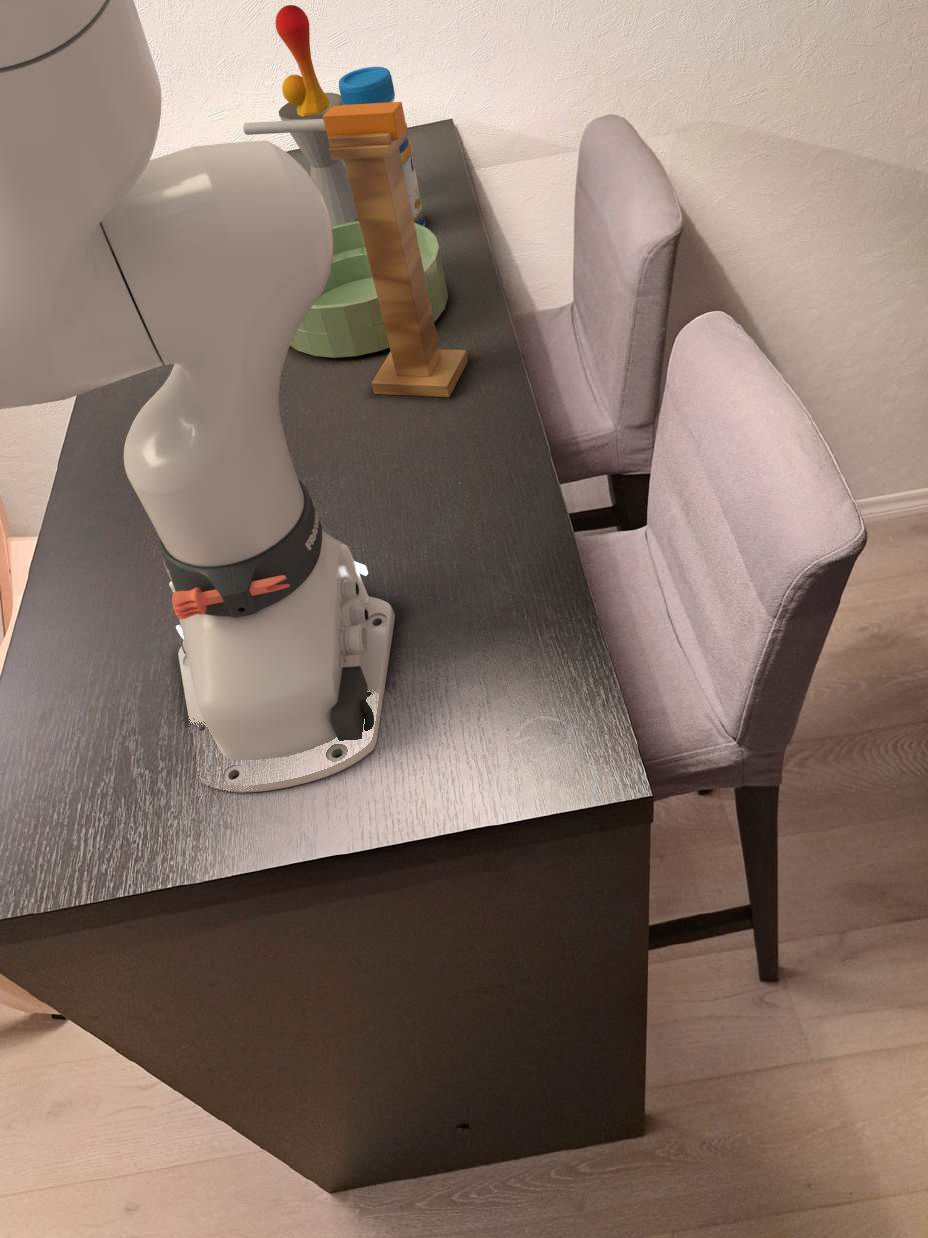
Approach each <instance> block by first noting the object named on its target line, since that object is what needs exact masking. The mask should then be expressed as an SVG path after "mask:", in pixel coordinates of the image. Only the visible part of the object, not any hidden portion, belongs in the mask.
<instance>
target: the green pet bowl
mask: <svg viewBox="0 0 928 1238" xmlns="http://www.w3.org/2000/svg"><path fill="white" fill-rule="evenodd" d="M414 224H415V229H416V234H417V239H418V244H419V249H420V254H421V259H422V264H423V269H424V274H425V279H426V284H427V289H428V294H429V299H430V304H431V309H432V314H433V319H434V323H435V322H436V321H437V320H438V319H439V317H440V316H441V315H442V313H443V312H444V311H445V309H446V306H447V302H448V298H449V294H448V288H447V283H446V277H445V271H444V266H443V260H442V255H441V250H440V245H439V241H438V237H437V236H436V235H435V234H434V233H433V231H431V230H430V229H429V228H427V227H425V226H421V225H419V224H417V223H414ZM332 231H333V260H332V266H331V271H330V275H329V278H328V280H327V283H326V286H325V288H324V290H323V292H322V294H321V296H320V297H319V298H318V299H317V301H316V302H315V303H314V304H313V306H312V307H311V308H310V310H309V311H308V312H307V314H306V315H305V317H304V318H303V320H302V322H301V324H300V325H299V327H298V329H297V331H296V333H295V335H294V337H293V339H292V341H291V344H290V346H289V347H292V348H293V349H294V350H296V351H298V352H300V353H304V354H308V355H310V356H314V357H320V358H321V357H322V358H333V359H336V358H337V359H338V358H349V357H359V356H364V355H368V354H372V353H377V352H381V351H384V350H386V349H390V346H389V342H388V338H387V334H386V330H385V326H384V322H383V318H382V314H381V309H380V305H379V301H378V297H377V293H376V289H375V285H374V281H373V277H372V273H371V268H370V264H369V260H368V256H367V252H366V248H365V244H364V240H363V236H362V232H361V227H360V223H359V220H356V221H354V222H351V223H346V224H341V225H337V226H334V227H332Z"/></svg>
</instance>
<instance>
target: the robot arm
mask: <svg viewBox="0 0 928 1238" xmlns="http://www.w3.org/2000/svg"><path fill="white" fill-rule="evenodd" d="M162 99H163V98H162V87H161V82H160V77H159V74H158V71H157V68H156V66H155V62H154V59H153V56H152V53H151V50H150V47H149V44H148V41H147V38H146V34H145V31H144V28H143V25H142V23H141V19H140V16H139V13H138V10H137V7H136V3H135V1H134V0H0V410H7V409H14V408H15V409H16V408H21V407H29V406H36V405H41V404H48V403H54V402H60V401H65V400H68V399H71V398H73V397H77V396H80V395H83V394H85V393H88V392H91V391H93V390H96V389H99V388H102V387H105V386H108V385H112V384H114V383H117V382H120V381H122V380H125V379H128V378H131V377H133V376H137V375H139V374H141V373H142V374H143V373H145V372H148V371H151V370H154V369H157V368H160V367H162V366H164V365H165V366H169V365H173V367H172V369H171V371H170V374H169V376H168V378H167V379H166V380H165V381H164V383H163V384H162V386H160V388H159V389H158V390H157V391H156V392H155V393H154V394H153V395H152V396H151V397H150V398H149V399H148V400H147V402H146V403H145V404H144V405H143V406H142V407H141V409H140V410H139V411H138V413H137V414H136V415H135V416H136V417H135V418H134V420H133V421H132V423H131V425H130V427H129V431H128V433H127V436H126V438H125V442H124V447H123V465H124V469H125V470H124V471H125V474H126V476H127V479H128V481H129V483H130V485H131V487H132V488H133V490H134V493H135V494H136V495H137V497H138V499H139V501H140V503H141V506H142V507H143V509H144V510H145V512H146V514H147V516H148V518H149V520H150V522H151V523H152V526H153V527H154V529H155V531H156V533H157V536H158V537H157V539H158V546H159V549H160V552H161V556H162V562H163V565H164V568H165V570H166V574H167V575H168V577H169V579H170V581H169V582H168V586H169V588H170V589H171V591H172V597H171V601H172V603H171V604H172V608H173V611H174V614H175V615H176V617H177V618H178V619H179V624H178V625H176V626H175V628H176V630H177V632H178V633H179V635H180V637H181V638H182V639H183V641H182V645H181V646H180V647H179V649H178V652H177V656H178V663H179V668H180V673H181V674H180V675H181V680H182V687H183V693H184V698H185V705H186V711H187V717H188V716H189V717H188V722H189V721H190V720H191V721H190V723H191V722H192V723H193V724H194V722H195V723H196V722H197V723H198V724H199V722H200V723H201V722H202V723H203V724H204V725H205V726H202V727H200V729H199V731H204V730H205V729H206V727H208V729H209V731H210V733H211V735H212V736H213V738H214V740H215V742H216V744H217V745H218V747H219V749H220V751H221V753H222V754H223V756H225V757H226V758H228V759H230V760H257V759H258V760H260V759H263V760H264V759H269V758H270V759H272V758H279V757H280V758H282V757H285V756H286V757H289V756H290V755H295V754H297V753H302V752H304V751H307V750H311V749H314V748H315V747H317V746H320V745H323V744H325V743H328V742H330V741H332V740H333V739H335V738H336V737H337V738H338V740H339V741H344V740H358V739H362V732H363V724H364V719H365V724H364V730H365V731H368V730H370V729H372V727H373V725H374V715H373V712H372V709H371V708H370V706H369V705H368V703H367V702H366V699H367V697H369V696H370V695H371V694H372V693H371V692H373V693H374V691H376V692H378V693H379V691H377V690H380V695H379V701H378V708H377V714H376V721H375V727H374V733H373V737H372V740H371V742H370V743H369V744H368V745H367V746H366V747H365V748H363V749H362V750H361V751H359V752H358V753H356V754H355V755H353V756H352V757H350V758H348V759H346V760H345V761H343V762H341V763H338V764H336V765H334V766H332V767H329V768H327V769H324V770H321V771H318V772H315V773H312V774H309V775H305V776H302V777H298V778H294V779H289V780H284V781H279V782H273V783H267V784H259V785H254V786H253V785H250V786H249V785H247V786H249V787H247V786H245V787H247V788H245V787H244V786H242V787H244V788H245V789H244V788H242V787H241V786H239V787H241V788H242V789H241V788H239V789H241V790H242V791H243V789H244V790H245V791H247V790H249V789H250V790H249V791H250V792H249V791H247V792H245V791H244V792H243V793H258V792H267V791H273V790H275V791H276V790H279V789H285V788H290V787H294V786H298V785H303V784H307V783H311V782H314V781H317V780H321V779H325V778H327V777H329V776H332V775H334V774H338V773H339V772H342V771H343V770H345V769H348V768H349V767H351V766H353V765H354V764H356V763H358V762H359V761H361V760H362V759H364V758H365V757H367V756H368V755H369V754H370V753H371V752H373V750H374V749H375V748H376V746H377V742H378V735H379V731H380V723H381V716H382V710H383V702H384V697H385V690H386V689H385V688H386V681H387V675H388V670H389V669H388V667H389V661H390V655H391V648H392V641H393V635H394V628H395V621H396V614H395V610H394V609H393V607H392V605H391V604H390V603H389V602H387V601H385V600H383V599H381V598H377V597H374V596H370V595H369V593H368V591H367V589H366V587H365V584H364V582H363V579H362V577H361V575H363V576H367V575H368V574H369V572H368V569H367V566H366V565H365V564H362V563H359V562H357V561H355V559H354V557H353V555H352V552H351V550H350V547H349V546H348V545H347V544H345V543H343V542H342V541H340V540H339V539H337V538H335V537H333V536H332V535H331V534H329V533H327V532H326V530H324V529H323V528H322V527H323V526H322V524H321V523H322V522H321V520H320V518H319V513H318V508H317V505H316V503H315V501H314V499H313V497H312V496H311V494H310V492H309V490H308V488H307V487H306V485H305V484H304V482H302V481H301V479H299V478H298V474H297V472H296V469H295V466H294V463H293V460H292V457H291V454H290V451H289V447H288V443H287V440H286V436H285V432H284V427H283V423H282V419H281V418H282V417H281V413H280V399H279V398H280V397H279V396H280V385H281V378H282V374H283V373H282V372H283V368H284V364H285V362H286V357H287V355H288V351H289V348H290V347H291V346H290V344H291V341H292V339H293V337H294V335H295V333H296V331H297V329H298V327H299V325H300V324H301V322H302V320H303V318H304V317H305V315H306V314H307V312H308V311H309V310H310V308H311V307H312V306H313V304H314V303H315V302H316V301H317V299H318V298H319V297H320V296H321V294H322V292H323V290H324V288H325V286H326V283H327V280H328V278H329V275H330V271H331V266H332V260H333V231H332V224H331V220H330V216H329V213H328V209H327V207H326V204H325V201H324V199H323V197H322V195H321V193H320V191H319V189H318V187H317V186H316V184H315V182H314V181H313V180H312V178H311V175H310V174H309V173H308V171H307V170H306V169H305V167H303V166H302V165H301V164H300V162H299V161H298V160H297V159H295V158H294V157H293V156H292V155H290V154H289V153H288V152H287V151H285V150H284V149H282V148H281V147H279V146H278V145H276V144H274V143H272V142H271V141H268V140H255V141H254V140H252V141H237V142H226V143H225V142H224V143H216V144H205V145H197V146H190V147H187V148H184V149H182V150H181V149H180V150H177V151H175V152H171V153H168V154H165V155H162V156H158V157H155V158H153V159H152V156H153V153H154V150H155V146H156V143H157V141H158V140H157V139H158V134H159V130H160V125H161V124H160V123H161V118H162V117H161V116H162ZM380 682H381V683H380ZM380 684H381V688H380ZM379 688H380V689H379ZM372 689H373V690H374V691H372ZM376 689H377V690H376ZM369 690H370V691H371V692H367V691H369ZM372 695H373V694H372ZM193 718H194V719H195V720H194V719H193ZM189 719H190V720H189ZM198 721H199V722H198ZM203 721H204V722H205V723H206V724H205V723H204V722H203ZM190 723H189V724H190ZM192 723H191V724H192ZM197 723H196V725H197ZM203 724H201V725H203ZM194 725H195V724H194ZM197 726H198V725H197ZM198 727H199V726H198ZM347 752H348V749H347V747H346V746H345V745H343V744H334V745H332V746H331V747H330V748H329V749H328V750H327V752H326V757H327V759H328V760H330V761H332V762H337V761H340V760H342V759H343V758H345V756H346V755H347ZM338 755H340V756H338ZM336 756H338V757H336ZM195 765H196V766H197V764H196V763H195ZM196 770H197V771H198V769H197V768H196ZM197 774H198V777H199V778H200V781H201V783H202V785H204V786H206V785H207V783H208V782H209V783H210V784H211V782H210V781H208V782H207V780H205V779H203V778H201V777H200V776H199V773H198V772H197ZM243 774H244V768H243V767H242V766H241V765H232V766H230V767H228V768H227V769H226V770H225V772H224V774H223V780H224V781H225V782H227V783H235V782H237V781H238V780H240V779H241V778H242V776H243ZM236 776H237V777H236ZM235 777H236V778H235ZM204 783H205V784H206V785H205V784H204ZM209 783H208V784H209ZM212 783H213V782H212ZM213 784H214V783H213ZM216 784H217V783H216ZM216 784H215V785H216ZM218 785H219V786H221V785H222V786H224V785H223V784H221V785H220V784H218ZM218 785H216V786H218ZM210 786H211V785H210ZM213 786H214V785H213ZM213 786H212V787H213ZM216 786H215V787H216ZM226 786H227V787H226ZM206 787H208V785H207V786H206ZM230 787H231V788H233V787H234V788H233V789H231V788H230ZM236 787H237V788H236ZM219 788H220V787H219ZM222 788H223V789H225V788H227V789H228V788H230V789H231V790H230V789H228V790H230V791H231V792H230V791H228V790H226V789H225V790H226V791H224V790H223V789H222ZM222 788H220V789H222V790H223V791H222V790H220V789H219V790H218V791H222V792H227V791H228V792H229V793H242V792H241V791H240V790H239V789H238V786H234V785H225V786H224V787H222ZM235 788H236V789H235ZM248 788H249V789H248ZM251 788H252V789H253V790H252V789H251ZM217 789H218V788H217ZM217 789H216V790H217ZM246 789H247V790H246ZM256 789H257V790H256ZM232 790H233V791H234V792H233V791H232ZM235 790H236V791H237V790H239V791H240V792H238V791H237V792H236V791H235ZM251 790H252V791H251ZM228 792H227V793H228Z"/></svg>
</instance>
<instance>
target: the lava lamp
mask: <svg viewBox="0 0 928 1238" xmlns="http://www.w3.org/2000/svg"><path fill="white" fill-rule="evenodd" d="M274 21H275V23H274V24H275V29H276V33H277V34H278V37H280V39H281V40H282V42H283V43H284V44H285V46H286V47H287V49H288V50H289V51H290V53H291V55H292V56H293V58H294V60H295V61H296V63H297V66H298V69H299V72H300V74H301V75H299V74H290V75H288V76H287V77H286V78H285V79H284V80H283V82H282V86H281V91H282V95H283V98H284V99H285V101H286V102H287V103H285V104H284V105H282V106H281V108H280V109H279V111H278V116H279V118H280V121H292V120H310V119H323V115H324V114H325V113H326V112H327V111H328V110H329V109H330V108H331V107H332V106H338V105H343V102H342V99H341V94H340V93H336V92H324V90H323V88H322V86H321V85H320V82H319V80H318V77H317V75H316V71H315V67H314V64H313V59H312V54H311V53H312V51H311V44H310V43H311V40H310V39H311V35H310V34H311V33H310V20H309V17H308V16H307V14H306V12H305V11H304V10H303V9H302V8H301V7H300V6H298V5H296V4H295V5H294V4H288V5H287V4H286V5H284V6H282V7H281V8H280V9H279V10H278V11H277V14H276V16H275V20H274ZM289 134H290V136H291V137H292V138H293V140H294V142H295V143H296V145H297V147H298V148H299V150H300V151H301V154H302V155H303V156H304V157H305V159H306V161H307V163H308V164H309V165H310V177H311V178H312V180H313V181H314V182H315V184H316V186H317V187H318V189H319V191H320V193H321V195H322V197H323V199H324V201H325V204H326V207H327V209H328V213H329V216H330V220H331V224H332V227H334V226H337V225H341V224H346V223H351V222H355V221H358V220H359V219H358V215H357V211H356V207H355V203H354V199H353V195H352V191H351V186H350V182H349V178H348V174H347V170H346V166H345V164H344V162H343V161H342V160H331V156H330V152H329V148H330V144H329V140H328V136H327V132H326V131H313V132H293V133H289Z"/></svg>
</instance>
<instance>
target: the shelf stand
mask: <svg viewBox="0 0 928 1238" xmlns="http://www.w3.org/2000/svg"><path fill="white" fill-rule="evenodd" d="M406 127H407V130H406V131H405V132H404V133H403V135H402V136H401V137H400V138H399V139H398V140H392V139H391V134H390V133H378V134H358V135H337V136H330V137H329V138H328V140H329V144H330V148H329V152H330V156H331V160H341V161H342V160H343V163H344V166H345V168H346V170H347V174H348V178H349V182H350V186H351V191H352V195H353V199H354V203H355V207H356V211H357V215H358V219H357V220H358V221H359V223H360V227H361V232H362V236H363V240H364V244H365V248H366V252H367V256H368V260H369V264H370V268H371V273H372V277H373V281H374V285H375V289H376V293H377V297H378V301H379V305H380V309H381V314H382V318H383V322H384V326H385V330H386V334H387V338H388V342H389V346H390V348H389V350H390V352H389V353H388V354H387V356H386V357H385V360H384V362H383V363H382V365H381V366H380V368H379V369H378V371H377V373H376V374H375V376H374V378H373V379H372V380H371V382H370V383H371V387H372V391H373V394H374V395H390V396H410V397H412V396H413V397H434V398H450V397H451V395H452V394H453V391H454V390H455V388H456V385H457V383H458V382H459V380H460V378H461V376H462V374H463V372H464V371H465V368H466V367H467V364H468V362H469V359H468V358H469V357H468V352H467V349H446V348H445V349H444V348H443V349H441V348H440V345H439V340H438V334H437V329H436V325H435V322H434V319H433V314H432V309H431V304H430V299H429V294H428V289H427V284H426V279H425V274H424V269H423V264H422V259H421V254H420V249H419V244H418V239H417V234H416V229H415V224H414V219H413V214H412V209H411V204H410V199H409V194H408V189H407V184H406V179H405V174H404V169H403V164H402V159H401V154H400V149H399V147H400V145H401V144H402V143H403V142H404V140H405V139H406V138H408V136H409V135H410V134H409V128H408V124H407V123H406Z"/></svg>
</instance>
